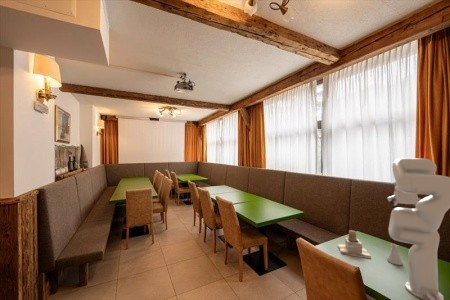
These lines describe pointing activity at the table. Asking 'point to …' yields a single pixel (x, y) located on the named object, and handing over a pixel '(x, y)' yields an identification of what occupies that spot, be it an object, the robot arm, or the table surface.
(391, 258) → the flask
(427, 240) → the robot arm
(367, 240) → the table surface
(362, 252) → the socket block
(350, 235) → the dowel
